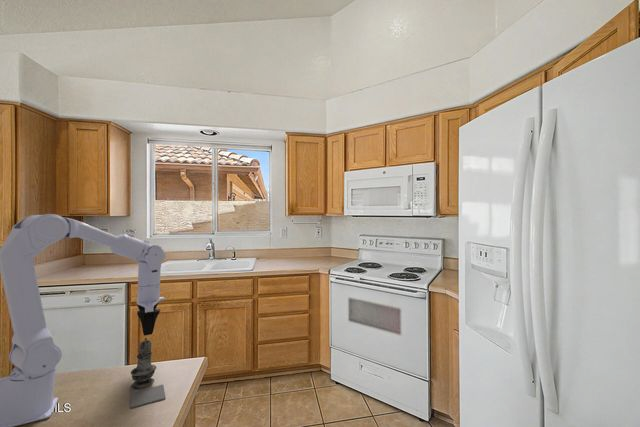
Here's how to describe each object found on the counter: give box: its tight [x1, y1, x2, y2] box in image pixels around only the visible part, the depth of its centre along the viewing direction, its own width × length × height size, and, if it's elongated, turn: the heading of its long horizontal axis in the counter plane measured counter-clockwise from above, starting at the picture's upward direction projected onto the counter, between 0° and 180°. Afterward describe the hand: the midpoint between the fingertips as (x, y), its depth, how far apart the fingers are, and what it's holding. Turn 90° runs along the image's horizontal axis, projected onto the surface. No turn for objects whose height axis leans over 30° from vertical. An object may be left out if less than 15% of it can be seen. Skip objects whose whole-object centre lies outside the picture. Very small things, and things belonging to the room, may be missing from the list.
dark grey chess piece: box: [130, 337, 157, 390], centre depth 74 cm, size 6×6×12 cm
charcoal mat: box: [130, 384, 166, 409], centre depth 68 cm, size 7×7×1 cm
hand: (147, 330), depth 82 cm, fingers open, 7 cm apart
